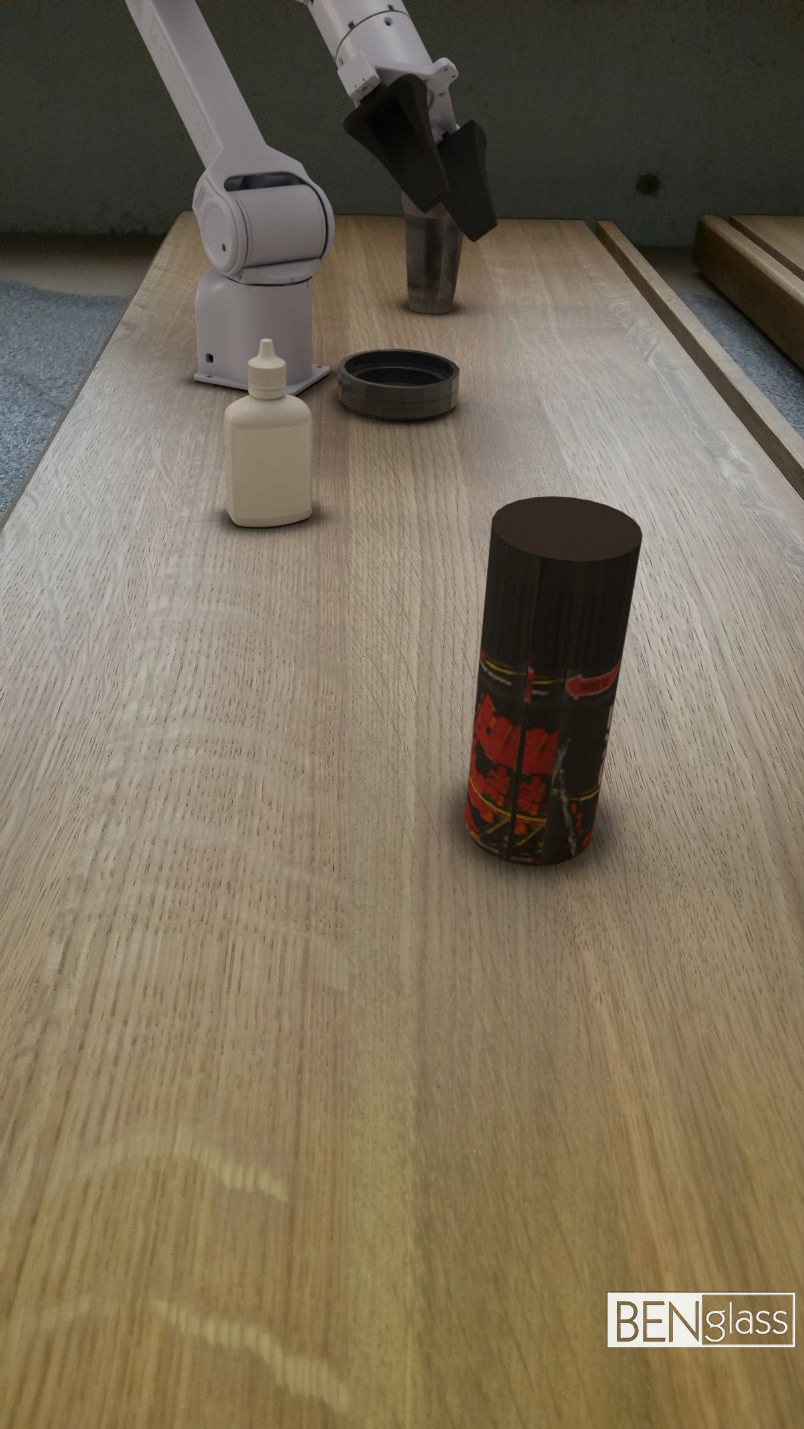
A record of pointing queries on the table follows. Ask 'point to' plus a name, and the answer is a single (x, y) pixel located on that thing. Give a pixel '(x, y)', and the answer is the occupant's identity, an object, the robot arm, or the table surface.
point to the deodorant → (548, 674)
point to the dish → (398, 384)
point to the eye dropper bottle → (268, 448)
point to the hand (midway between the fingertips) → (460, 218)
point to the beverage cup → (431, 257)
